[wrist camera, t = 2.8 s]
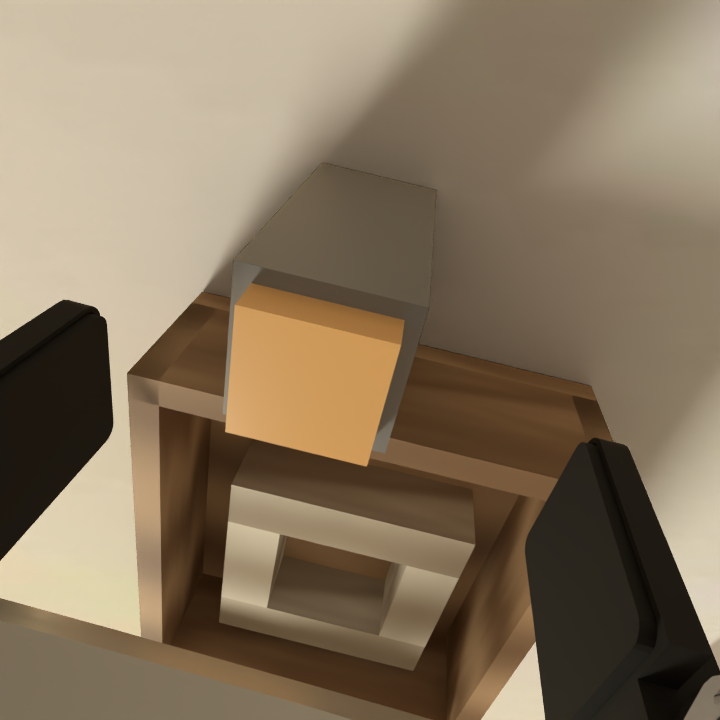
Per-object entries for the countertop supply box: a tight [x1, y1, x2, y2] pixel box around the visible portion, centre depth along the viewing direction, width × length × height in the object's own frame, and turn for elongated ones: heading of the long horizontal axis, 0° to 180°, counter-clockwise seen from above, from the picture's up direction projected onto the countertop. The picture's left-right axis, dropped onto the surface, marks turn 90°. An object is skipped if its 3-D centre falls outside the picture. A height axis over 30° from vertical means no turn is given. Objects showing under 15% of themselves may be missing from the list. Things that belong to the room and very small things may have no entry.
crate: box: [127, 292, 613, 720], centre depth 24 cm, size 18×16×6 cm
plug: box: [223, 163, 437, 467], centre depth 15 cm, size 4×4×10 cm
